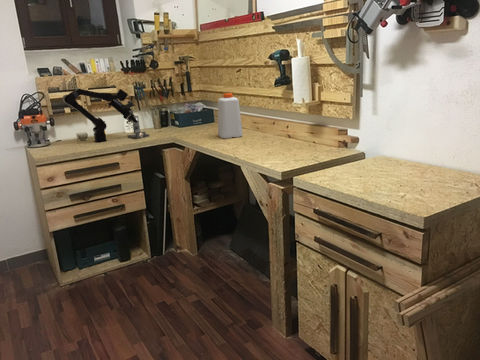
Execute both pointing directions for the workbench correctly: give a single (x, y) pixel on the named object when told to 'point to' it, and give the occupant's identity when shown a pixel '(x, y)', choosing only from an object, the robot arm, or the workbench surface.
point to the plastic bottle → (229, 117)
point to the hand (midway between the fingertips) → (137, 121)
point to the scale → (138, 135)
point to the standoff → (136, 125)
